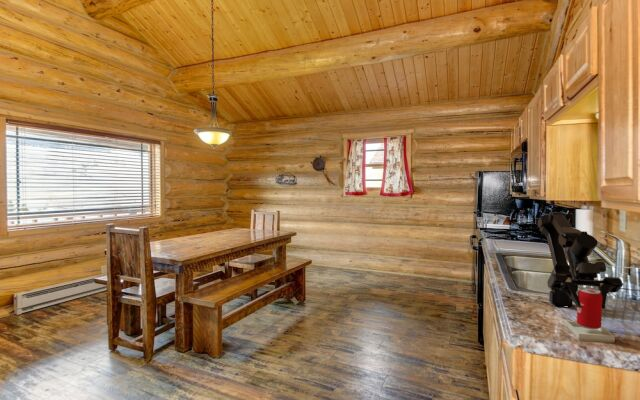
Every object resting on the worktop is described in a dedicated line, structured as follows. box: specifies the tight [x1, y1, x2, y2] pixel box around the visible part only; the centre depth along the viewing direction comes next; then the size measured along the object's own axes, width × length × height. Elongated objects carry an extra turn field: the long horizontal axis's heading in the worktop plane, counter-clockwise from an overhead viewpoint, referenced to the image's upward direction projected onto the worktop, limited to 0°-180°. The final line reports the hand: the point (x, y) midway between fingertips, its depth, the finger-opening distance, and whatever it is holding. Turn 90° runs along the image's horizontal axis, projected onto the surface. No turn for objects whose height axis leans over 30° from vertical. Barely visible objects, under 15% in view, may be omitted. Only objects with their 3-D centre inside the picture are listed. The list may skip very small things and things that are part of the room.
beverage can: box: [576, 286, 603, 330], centre depth 111 cm, size 6×6×12 cm
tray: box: [564, 320, 616, 344], centre depth 111 cm, size 10×10×2 cm
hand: (591, 307), depth 109 cm, fingers closed on beverage can, 6 cm apart
